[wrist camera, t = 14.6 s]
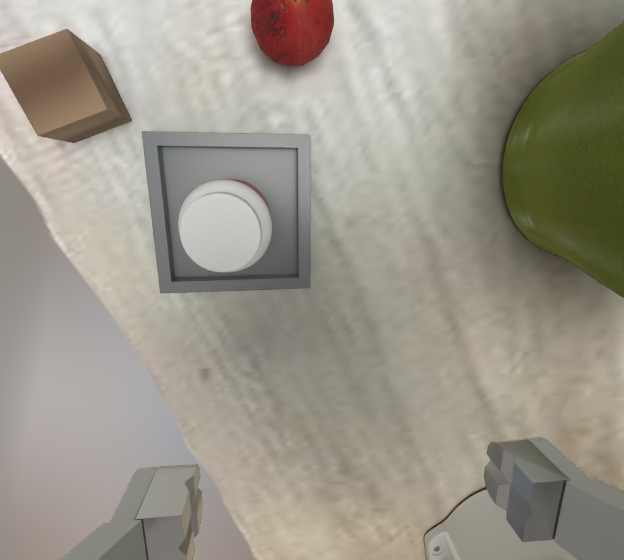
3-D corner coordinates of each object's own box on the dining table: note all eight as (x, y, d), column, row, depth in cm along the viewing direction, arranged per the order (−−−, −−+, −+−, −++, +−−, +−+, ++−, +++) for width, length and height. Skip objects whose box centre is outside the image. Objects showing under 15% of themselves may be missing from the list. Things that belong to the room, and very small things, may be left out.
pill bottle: (201, 173, 30) (168, 169, 20) (274, 185, 31) (280, 187, 21) (195, 245, 32) (162, 278, 21) (265, 254, 33) (266, 290, 22)
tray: (307, 281, 35) (310, 288, 33) (166, 286, 33) (160, 293, 31) (307, 137, 31) (310, 134, 29) (150, 134, 30) (141, 131, 27)
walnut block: (132, 120, 29) (107, 109, 24) (74, 143, 29) (37, 135, 24) (100, 54, 28) (66, 28, 23) (39, 77, 28) (-8, 56, 23)
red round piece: (274, 91, 30) (278, 60, 22) (238, 17, 28) (229, -43, 21) (335, 57, 30) (361, 15, 22) (303, -18, 28) (319, -92, 20)
